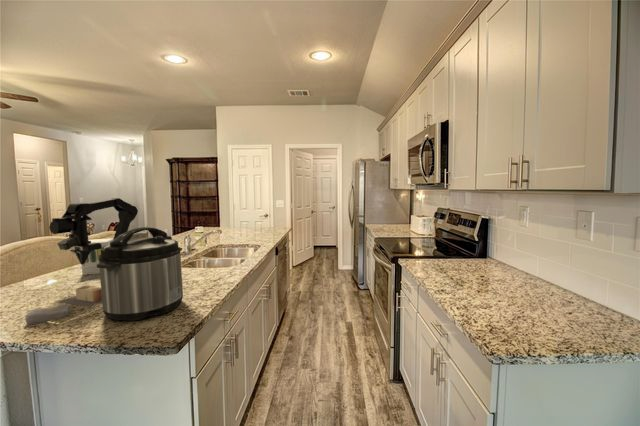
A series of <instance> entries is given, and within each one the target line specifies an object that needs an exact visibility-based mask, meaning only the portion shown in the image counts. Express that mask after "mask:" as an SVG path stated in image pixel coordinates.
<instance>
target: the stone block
mask: <svg viewBox="0 0 640 426" xmlns="http://www.w3.org/2000/svg"><path fill="white" fill-rule="evenodd" d="M71 311H72V304H69V303H65V304H61V305H57V306H54V307H44V308H43V307H39V308H33V309H31V310H30V311H29V312H27V314H26V315H25V323H26V326H28V325H29V326H31V325H35V324H40V323H41V324H42V323H46V322H51V321H52V320H56V319H61V318H66V317H68V316H70V312H71Z"/></svg>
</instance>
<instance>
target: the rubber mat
mask: <svg viewBox="0 0 640 426" xmlns="http://www.w3.org/2000/svg"><path fill="white" fill-rule="evenodd" d="M57 303H64V304H69V305H76V306H81V307H82V306H84V307H92V306H94V305H97V304H99V303H102V300H100V301H98V302H91V301H84V300H77V298H76V295H73V296H70V297H68V298H64V299H61V300H58V301H57Z"/></svg>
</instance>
